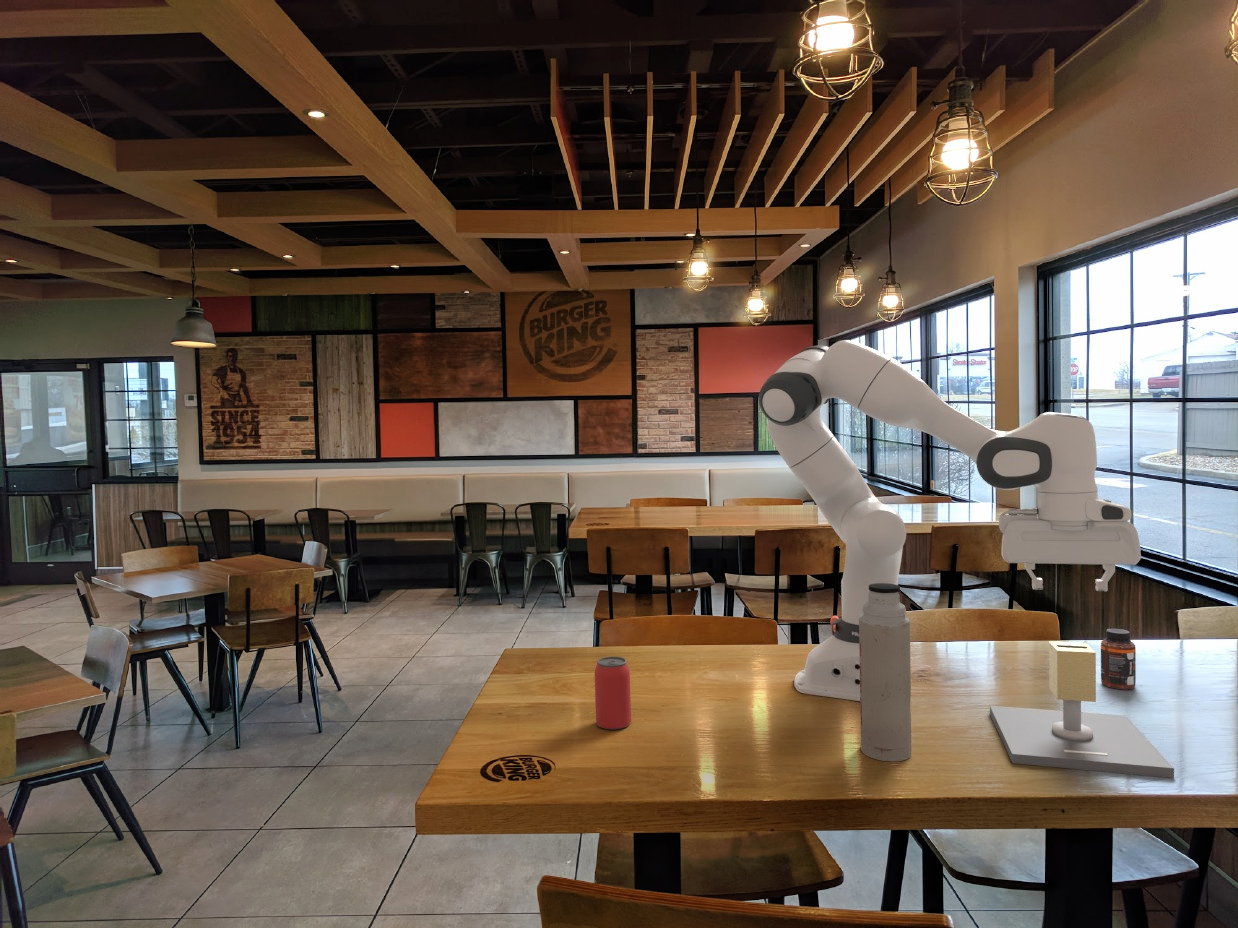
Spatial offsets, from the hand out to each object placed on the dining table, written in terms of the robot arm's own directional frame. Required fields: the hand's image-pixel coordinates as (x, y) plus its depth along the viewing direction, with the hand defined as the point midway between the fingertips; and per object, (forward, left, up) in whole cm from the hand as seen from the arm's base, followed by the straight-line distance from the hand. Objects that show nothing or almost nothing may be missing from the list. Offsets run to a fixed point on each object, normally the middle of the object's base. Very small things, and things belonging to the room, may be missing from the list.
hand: (1069, 589), depth 130 cm
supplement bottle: (+16, +31, -26) cm, 44 cm away
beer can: (-78, -12, -26) cm, 83 cm away
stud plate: (0, -2, -26) cm, 26 cm away
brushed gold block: (0, -2, -17) cm, 18 cm away
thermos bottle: (-30, -13, -26) cm, 41 cm away
